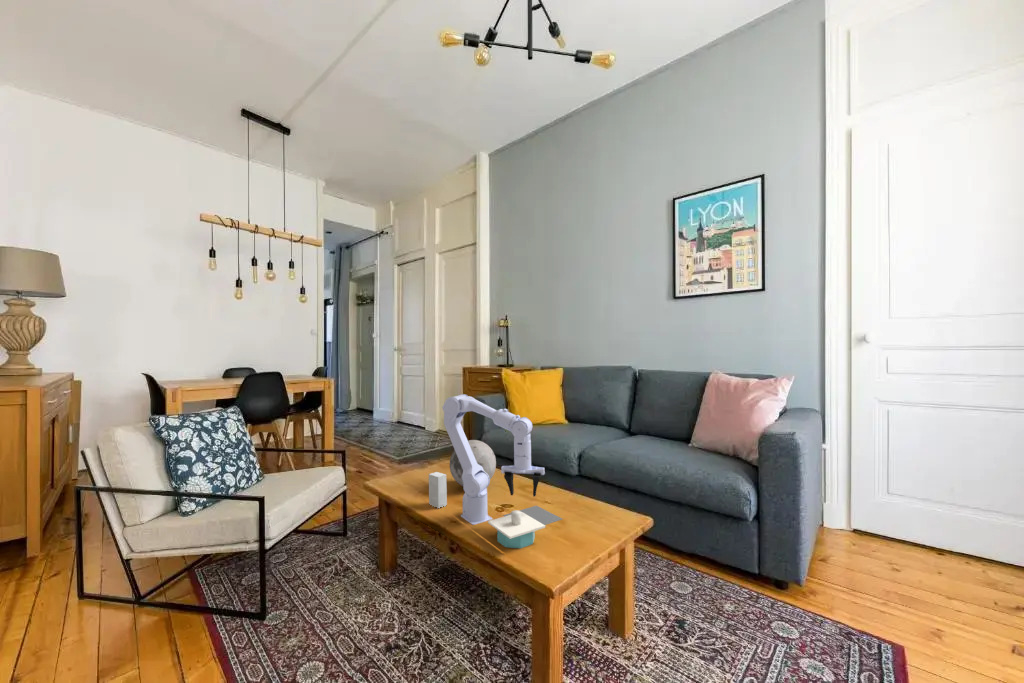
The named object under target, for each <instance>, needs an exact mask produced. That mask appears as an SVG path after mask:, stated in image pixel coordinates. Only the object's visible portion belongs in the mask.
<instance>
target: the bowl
mask: <svg viewBox="0 0 1024 683" xmlns="http://www.w3.org/2000/svg"><path fill="white" fill-rule="evenodd" d="M496 531H497V533H496V534H497V538H496V539H497V542H498V543H499V544H501V545H502V546H503V547H505V548H510V549H523V548H526V547H528V546H531V545H533V544H534V541H535V538H536V534H535V532H536V531H533V532H530V533H527V534H524V535H521V536H517V537H514V538H511V539H509V538H508V537H507V536H505V535H504V534H502V533H501V532H500V531H498V530H497V529H496Z"/></svg>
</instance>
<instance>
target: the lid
mask: <svg viewBox="0 0 1024 683" xmlns="http://www.w3.org/2000/svg"><path fill="white" fill-rule="evenodd" d="M510 513H511V515H508V516H501V517H498V518H493V519H492V520H489V521H487V524H488V525H490V526H492V528H494V529H495V530H496V531H497V530H498V531H500V532H501V533H502V534H504V535H505V536H507V537H508V538H509V539H511V538H514V537H517V536H521V535H524V534H527V533H530V532H533V531H535V532H536V531H539V530H542V529H545V528H546V525H544V524H542V523H540V522H538V521H537V520H535V519H533V518H532V517H530V516H528V515H527V514H525V513H523V512H521V511H519V510H517V509H516V510H511V512H510Z"/></svg>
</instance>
